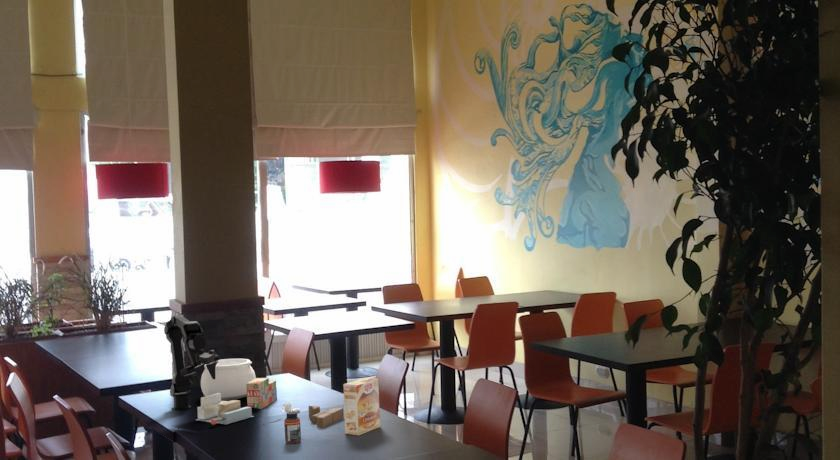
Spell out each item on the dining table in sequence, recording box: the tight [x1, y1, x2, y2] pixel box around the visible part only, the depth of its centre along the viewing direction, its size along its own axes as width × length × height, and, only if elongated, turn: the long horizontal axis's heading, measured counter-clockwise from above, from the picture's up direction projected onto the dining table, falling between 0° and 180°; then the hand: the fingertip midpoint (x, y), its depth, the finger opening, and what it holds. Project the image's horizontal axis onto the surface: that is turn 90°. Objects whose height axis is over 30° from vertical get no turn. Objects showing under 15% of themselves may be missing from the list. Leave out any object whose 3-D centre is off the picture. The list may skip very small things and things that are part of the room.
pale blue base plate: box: [196, 406, 255, 426], centre depth 364 cm, size 19×22×5 cm
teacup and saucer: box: [281, 402, 301, 413], centre depth 377 cm, size 9×8×4 cm
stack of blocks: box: [246, 377, 278, 410], centre depth 396 cm, size 21×6×12 cm, turn 169°
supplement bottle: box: [283, 411, 302, 445], centre depth 325 cm, size 6×6×11 cm
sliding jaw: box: [196, 393, 228, 420], centre depth 371 cm, size 4×14×9 cm, turn 145°
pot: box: [200, 358, 257, 401], centre depth 420 cm, size 29×26×17 cm
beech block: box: [218, 399, 241, 419], centre depth 365 cm, size 4×9×7 cm, turn 145°
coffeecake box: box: [342, 377, 381, 436], centre depth 339 cm, size 15×7×20 cm, turn 148°
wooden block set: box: [308, 405, 345, 428], centre depth 358 cm, size 17×6×18 cm
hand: (206, 383), depth 378 cm, fingers open, 9 cm apart
